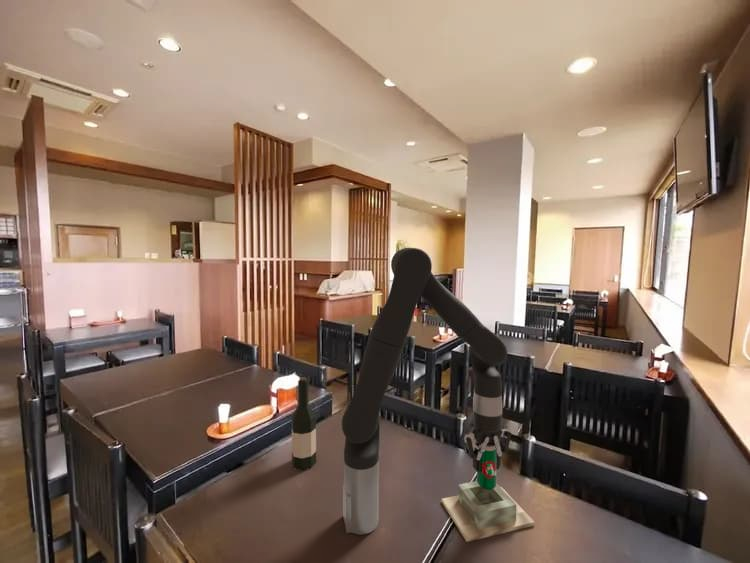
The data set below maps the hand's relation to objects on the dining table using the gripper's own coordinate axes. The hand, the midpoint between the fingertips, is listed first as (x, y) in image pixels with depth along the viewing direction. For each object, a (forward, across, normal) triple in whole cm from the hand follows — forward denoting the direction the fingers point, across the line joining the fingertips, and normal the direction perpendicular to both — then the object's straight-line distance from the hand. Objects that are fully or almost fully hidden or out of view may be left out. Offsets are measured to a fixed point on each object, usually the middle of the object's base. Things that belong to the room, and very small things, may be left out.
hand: (486, 468), depth 89 cm
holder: (+13, 0, 0) cm, 13 cm away
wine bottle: (+13, -48, +36) cm, 61 cm away
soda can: (+5, 0, 0) cm, 5 cm away
